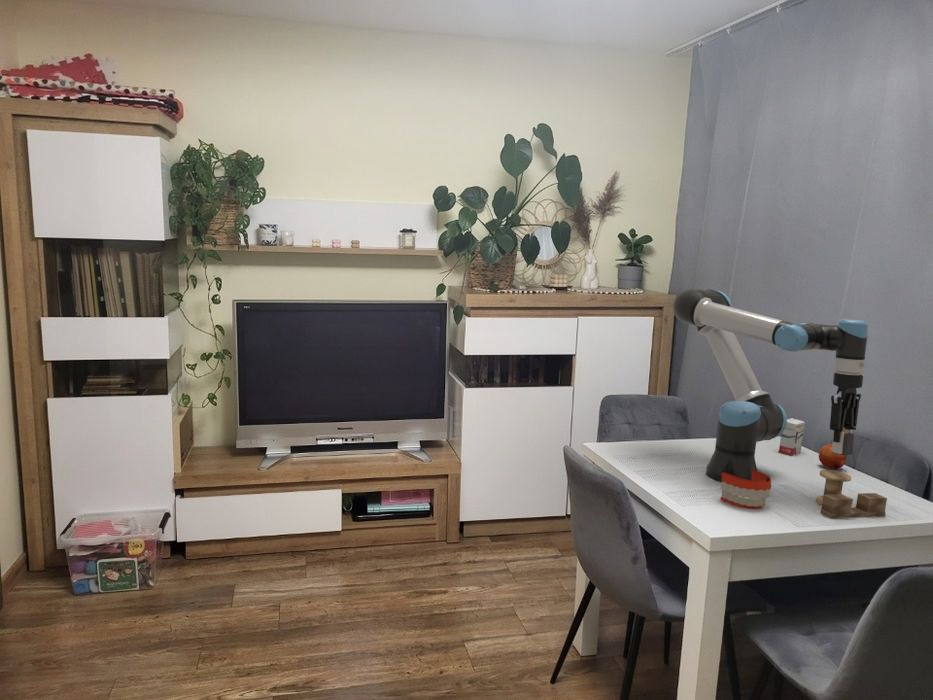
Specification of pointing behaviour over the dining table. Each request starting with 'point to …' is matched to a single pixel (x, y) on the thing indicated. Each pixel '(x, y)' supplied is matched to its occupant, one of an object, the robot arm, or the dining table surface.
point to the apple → (831, 458)
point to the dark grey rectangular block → (847, 443)
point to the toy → (746, 490)
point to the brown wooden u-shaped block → (843, 507)
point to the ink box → (792, 437)
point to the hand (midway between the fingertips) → (840, 451)
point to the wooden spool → (832, 483)
